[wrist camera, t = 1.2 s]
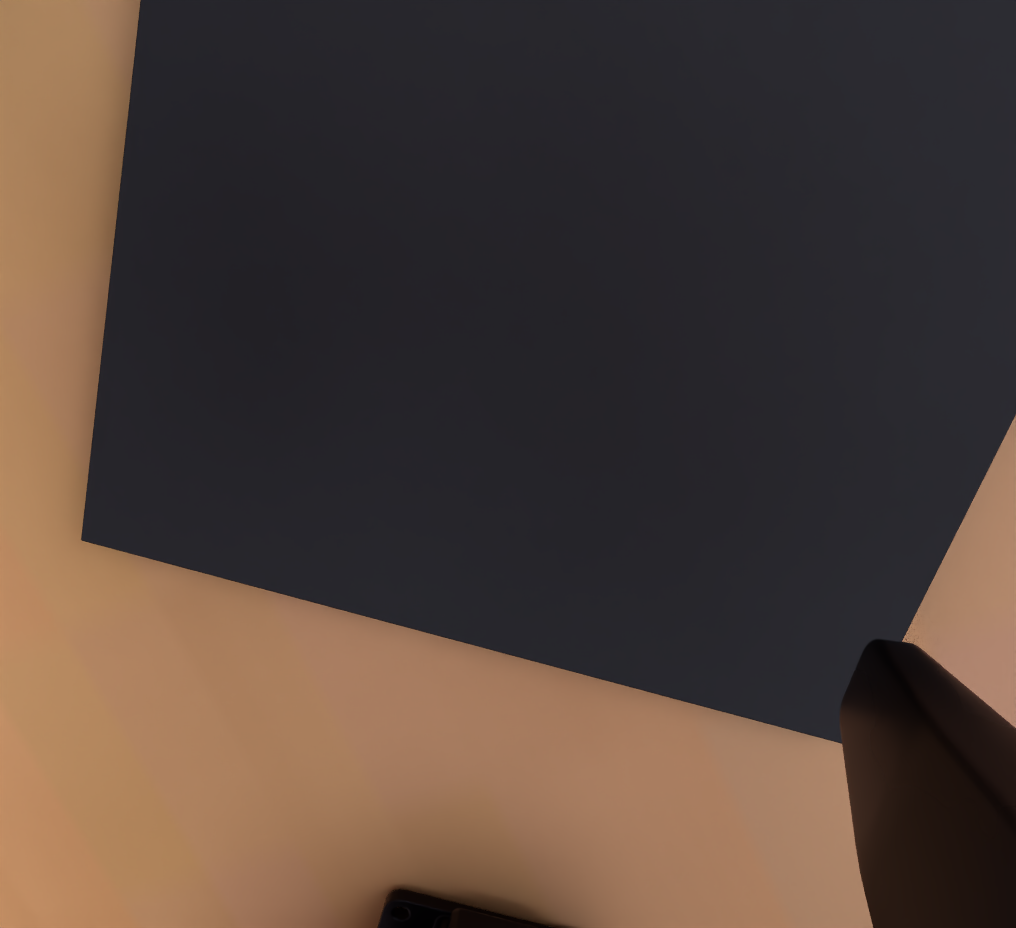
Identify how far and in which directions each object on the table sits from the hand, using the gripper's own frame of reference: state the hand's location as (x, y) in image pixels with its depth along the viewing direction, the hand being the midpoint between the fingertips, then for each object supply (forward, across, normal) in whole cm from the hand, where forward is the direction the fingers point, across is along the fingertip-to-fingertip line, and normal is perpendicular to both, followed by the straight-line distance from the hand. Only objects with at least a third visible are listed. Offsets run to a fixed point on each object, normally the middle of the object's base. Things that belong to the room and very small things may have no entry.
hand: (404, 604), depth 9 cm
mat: (+13, -2, +1) cm, 13 cm away
